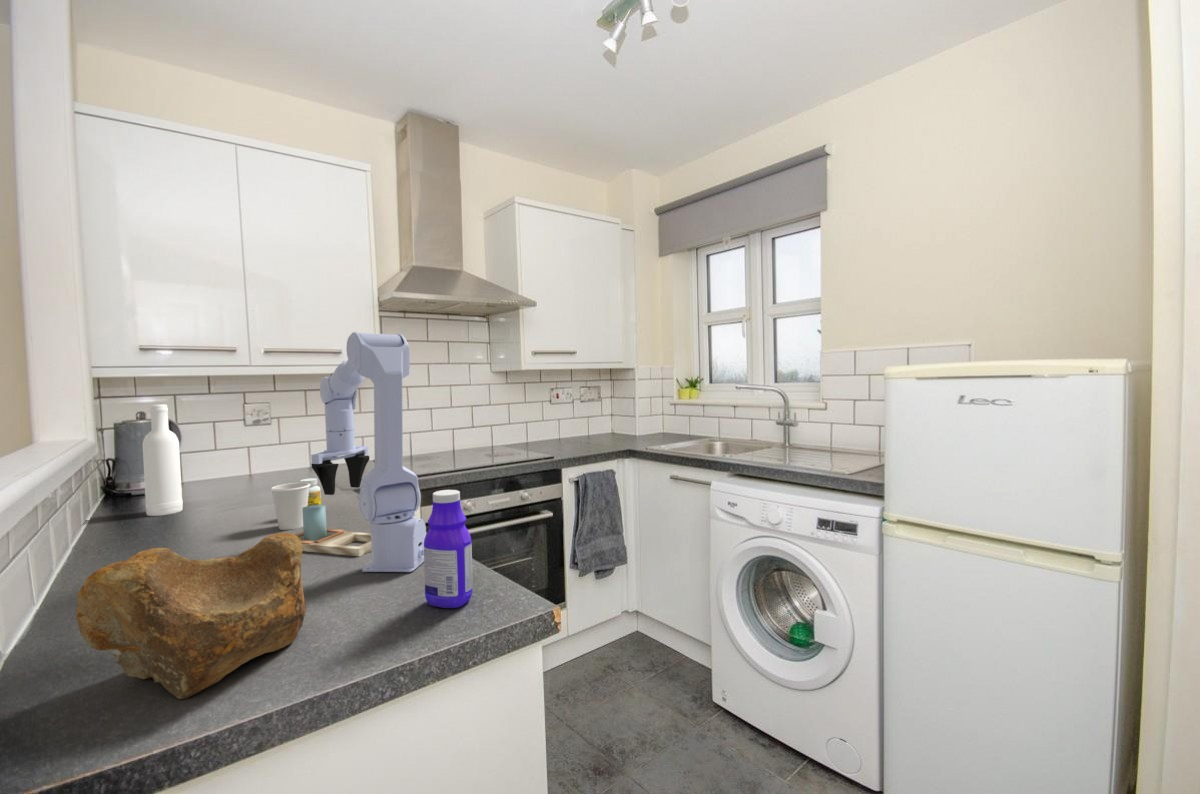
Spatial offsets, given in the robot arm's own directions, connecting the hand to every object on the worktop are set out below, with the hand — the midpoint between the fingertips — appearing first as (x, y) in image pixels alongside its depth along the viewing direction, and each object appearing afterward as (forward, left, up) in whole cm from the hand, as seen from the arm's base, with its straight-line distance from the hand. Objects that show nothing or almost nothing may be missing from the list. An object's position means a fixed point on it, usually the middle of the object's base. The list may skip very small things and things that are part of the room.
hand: (342, 490), depth 118 cm
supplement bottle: (+20, -18, -11) cm, 29 cm away
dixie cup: (+18, -8, -11) cm, 22 cm away
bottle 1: (+65, -22, -11) cm, 69 cm away
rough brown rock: (-14, +53, -11) cm, 56 cm away
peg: (+4, +5, -10) cm, 12 cm away
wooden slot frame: (-2, +6, -10) cm, 12 cm away
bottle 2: (-37, +34, -11) cm, 51 cm away
